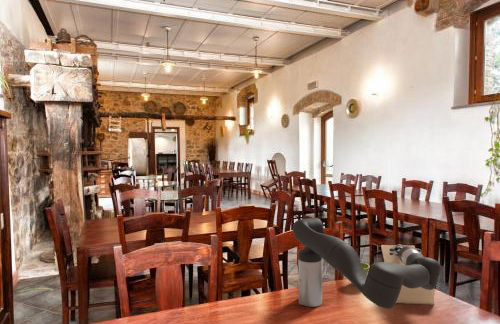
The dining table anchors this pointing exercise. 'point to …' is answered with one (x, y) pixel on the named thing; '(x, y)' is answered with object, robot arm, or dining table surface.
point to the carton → (416, 296)
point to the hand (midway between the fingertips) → (398, 246)
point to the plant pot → (364, 268)
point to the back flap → (390, 258)
